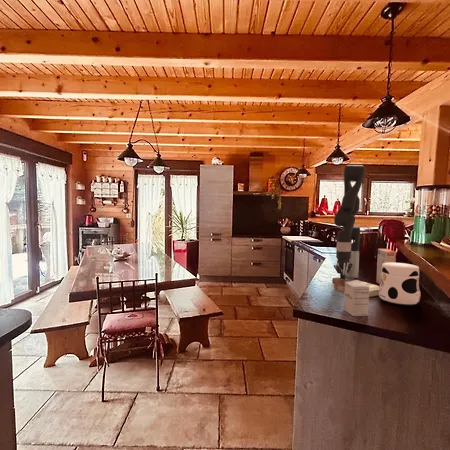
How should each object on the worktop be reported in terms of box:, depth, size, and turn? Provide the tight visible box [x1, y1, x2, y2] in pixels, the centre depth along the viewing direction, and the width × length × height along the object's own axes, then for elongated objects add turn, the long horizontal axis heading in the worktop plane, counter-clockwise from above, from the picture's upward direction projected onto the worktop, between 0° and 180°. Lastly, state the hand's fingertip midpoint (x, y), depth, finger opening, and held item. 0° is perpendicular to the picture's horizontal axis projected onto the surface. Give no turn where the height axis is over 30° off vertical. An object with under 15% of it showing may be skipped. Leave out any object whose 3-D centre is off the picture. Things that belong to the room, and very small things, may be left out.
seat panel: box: [333, 279, 380, 298], centre depth 163 cm, size 19×18×3 cm
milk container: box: [378, 262, 422, 307], centre depth 143 cm, size 17×17×18 cm
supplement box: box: [343, 282, 370, 317], centre depth 128 cm, size 7×7×13 cm
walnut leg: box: [331, 276, 354, 287], centre depth 159 cm, size 16×4×3 cm, turn 27°
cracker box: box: [375, 248, 397, 286], centre depth 175 cm, size 14×6×21 cm, turn 168°
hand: (342, 280), depth 166 cm, fingers closed
